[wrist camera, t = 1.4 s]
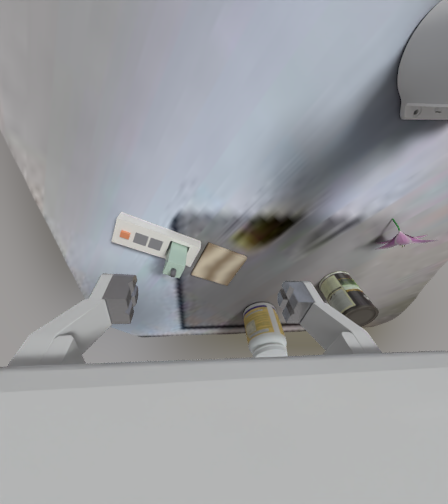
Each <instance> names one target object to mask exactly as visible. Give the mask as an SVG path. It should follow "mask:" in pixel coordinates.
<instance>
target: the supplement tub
mask: <svg viewBox="0 0 448 504" xmlns="http://www.w3.org/2000/svg"><path fill="white" fill-rule="evenodd" d="M243 319H244V324H245V330H246V335H247V341H248V346H249V350H250V352H251V353H252V354H253V358H256V357H283V356H288V355H287V349H286V344H287V342H286V338H285V335H284V332H283V329H282V327H281V324H280V321H279V318H278V315H277V312H276V309H275V307H274V306H273V305H271V304H269V303H265V302H260V303H255V304H252V305H250V306H249V307H247V308H246V309H245V311H244V313H243Z"/></svg>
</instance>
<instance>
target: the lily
mask: <svg viewBox="0 0 448 504" xmlns="http://www.w3.org/2000/svg"><path fill="white" fill-rule="evenodd" d="M392 220H393V221H394V223H395V224H396V226H397V228H398V230H399V233H398V234H397V235H396V236H395V237H394V238H393V239H391V240H390V241H387V242H379V243H377V244H385V243H387V244H385V245H384V246H382V247H380V248H377V249H385V248H390V247H393V246H396V245H402V247H403V245H404V246H405V245H406V244H410V243H427V242H433V241H437V240H421V239H417V238H422V237H425V236H427V235H423V236H418V237H414V238H413V237H411V236H409V235H406V234H404V233H402V232H401V231H400V228H399V226H398V225H397V223H396V222H395V220H394V219H392Z"/></svg>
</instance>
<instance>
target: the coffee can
mask: <svg viewBox="0 0 448 504" xmlns="http://www.w3.org/2000/svg"><path fill="white" fill-rule="evenodd" d="M319 288H320V290H321V291H322V293H323V294H324V296H325V298H326V300H327V301H328V303H329V305H330V306H331V307H333V308H334V309H336V310H337V311H339V312H340V313H341V314H343V315H344V316H346V317H347V318H348V319H350V320H351V321H353V322H354V323H356V324H357V325H358V326H360V327H362V326H364V325H367V324H369V323H370V322H372V321H373V320H374V319H375V318H376V317H377V316H378V313H379V311H378V309H377V308H376V307H375V306H374V305H373V304H372V303H371V301H370V300H369V299H368V298H367V296H366V295H365V294H364V293H363V292H362V290H361V289H360V288H359V287H358V285H357V284H356V283H355V282H354V280H353V279H352V278H351V277H350V275H349V274H348V273H347V272H344V271H337V272H333V273H330V274H328V275H327V276H325V277H324V278H323V279H322V280H321V282H320V284H319Z"/></svg>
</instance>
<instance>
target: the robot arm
mask: <svg viewBox="0 0 448 504" xmlns="http://www.w3.org/2000/svg"><path fill="white" fill-rule="evenodd" d="M397 84H398V91H399V94H400V97H401V109H400V117H401V119H403V120H448V0H442V1H441V2H439V3H438V4H437V5H436V6H435V7H434V8H433V9H432V10H431V11H430V12H429V13H428V14H427V15H426V17H425V18H424V19H423V20H422V22H421V23H420V24H419V26H418V27H417V29H416V30H415V32H414V33H413V35H412V37H411V38H410V40H409V42H408V44H407V46H406V48H405V51H404V53H403V56H402V59H401V62H400V66H399V70H398V78H397ZM414 111H415V113H414ZM136 282H137V278H136V275H124V274H104V273H103V274H102V275H101V276H100V278H99V280H98V282H97V284H96V285H95V287H94V289H93V291H92V293H91V295H90V297H89V298H88V299H84V300H83V301H81V302H79V303H78V304H76V305H75V306H73V307H72V308H70V309H69V310H67V311H65V312H64V313H62V314H61V315H59V316H58V317H57V318H55V319H53V320H52V321H50V322H48V323H47V324H46V325H44V326H42V327H41V328H39V329H38V330H36V331H35V332H33V333H32V334H30V335H29V336H28V338H27V339H26V340H25V342H24V343H23V345H22V346H21V347H20V349H19V350H18V352H17V353H16V354H15V356H14V357H13V359H12V360H11V361H10V363H9V364H8V366H7V367H0V504H448V351H419V352H392V353H382V352H381V350H380V349H379V348H378V346H377V345H376V344H375V342H374V341H373V340H372V338H371V337H370V335H369V334H368V333H367V331H365V330H364V329H363V328H361V327H360V326H358V325H357V324H356V323H354V322H353V321H351V320H350V319H348V318H347V317H346V316H344V315H343V314H341V313H340V312H339V311H337V310H336V309H334V308H333V307H331V306H330V305H329V304H327V303H324V302H323V300H322V299H321V297H320V296H319V294H318V292H317V291H316V289H315V288H314V286H313V285H312V283H311V282H309V281H285V282H283V284H282V287H283V289H281V290H280V291H279V293H278V304H279V306H280V307H281V308H282V309H283V312H282V314H283V316H284V319H285V321H286V323H300V325H301V326H302V327H303V328H304V329H305V330H306V331H307V332H308V333H309V334H310V335H311V336H312V337H313V338H314V339H315V340H316V341H317V342H318V343H319V344H320V345H321V346H322V347H323V348H324V349H325V350H326V351H325V352H324V353H323V355H311V356H283V357H256V358H230V359H203V360H176V361H148V362H121V363H93V364H86V363H85V361H84V359H83V357H82V354H83V353H84V352H85V351H86V350H87V349H88V348H89V347H90V346H91V345H92V344H93V343H94V342H95V341H96V340H97V339H98V338H99V337H100V336H101V335H102V334H103V333H104V332H105V331H106V330H107V329H108V328H109V327H110V326H111V325H112V324H129V323H131V320H132V317H133V313H134V310H133V307H134V306H135V305H136V303H137V298H138V287H137V286H136Z"/></svg>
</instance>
